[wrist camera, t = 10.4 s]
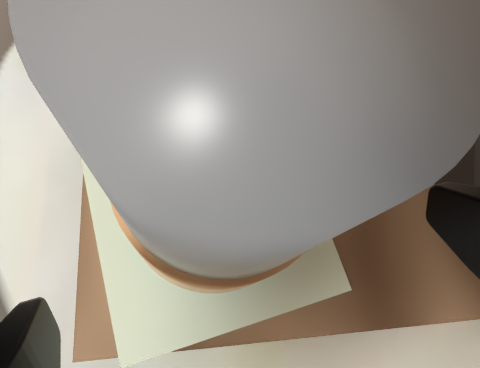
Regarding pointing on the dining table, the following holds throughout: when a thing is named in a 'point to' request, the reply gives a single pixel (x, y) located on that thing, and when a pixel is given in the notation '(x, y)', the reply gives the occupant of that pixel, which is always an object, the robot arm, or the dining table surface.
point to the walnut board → (331, 309)
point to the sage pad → (194, 303)
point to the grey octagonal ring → (466, 168)
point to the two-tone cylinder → (254, 117)
